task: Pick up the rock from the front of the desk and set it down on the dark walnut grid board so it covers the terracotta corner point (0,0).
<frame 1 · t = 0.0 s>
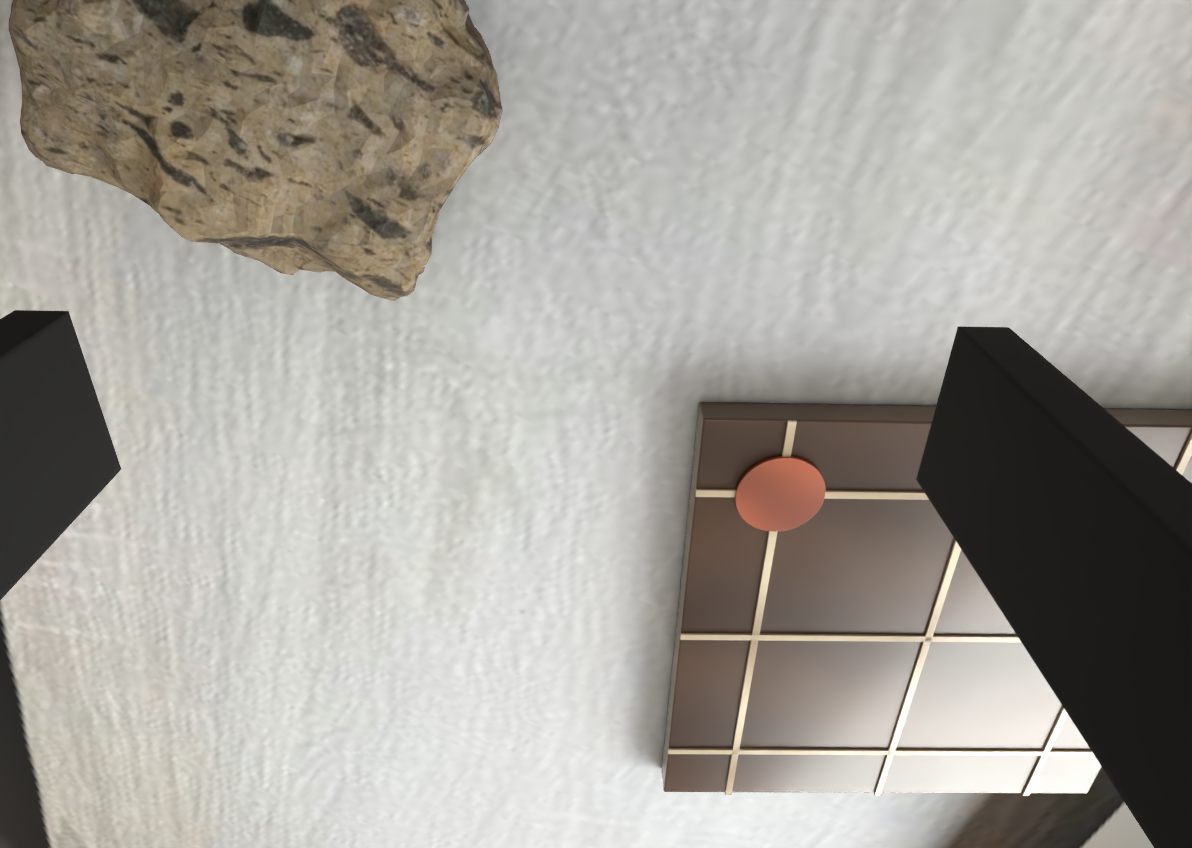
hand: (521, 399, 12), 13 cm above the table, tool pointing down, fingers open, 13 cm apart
rock: (304, 45, 22), on the table
grid board: (916, 616, 33), on the table
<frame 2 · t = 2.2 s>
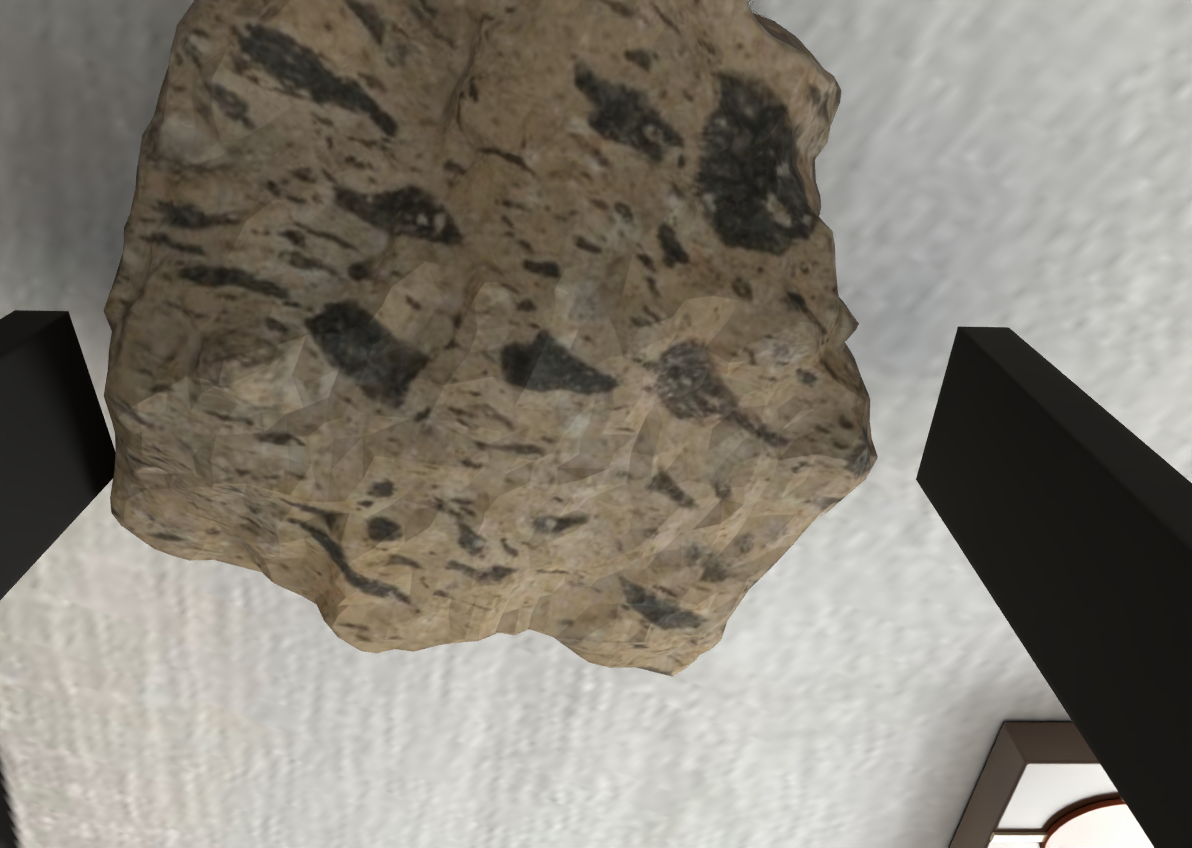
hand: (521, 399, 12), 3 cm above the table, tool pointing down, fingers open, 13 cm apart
rock: (525, 311, 14), on the table
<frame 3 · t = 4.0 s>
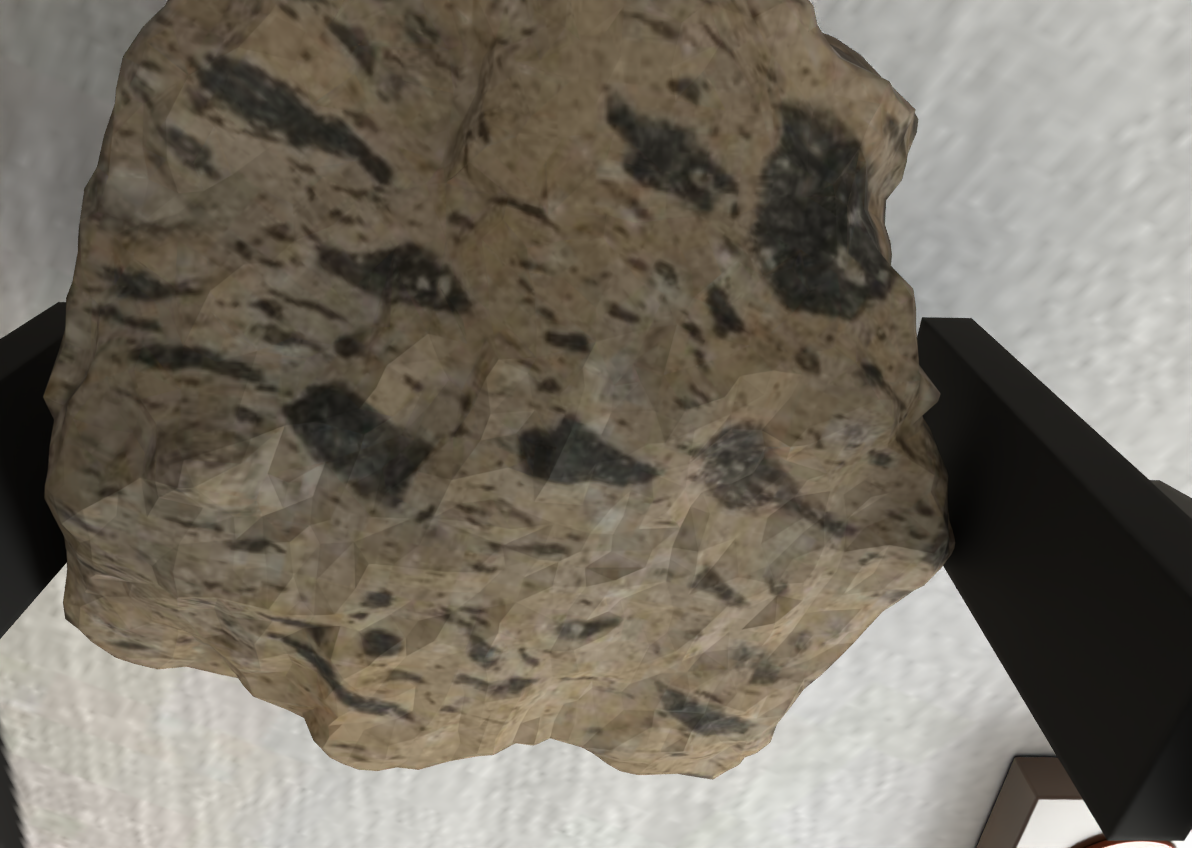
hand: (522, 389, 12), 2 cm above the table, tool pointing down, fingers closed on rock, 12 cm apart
rock: (542, 367, 13), point 2 cm above the table, touching gripper
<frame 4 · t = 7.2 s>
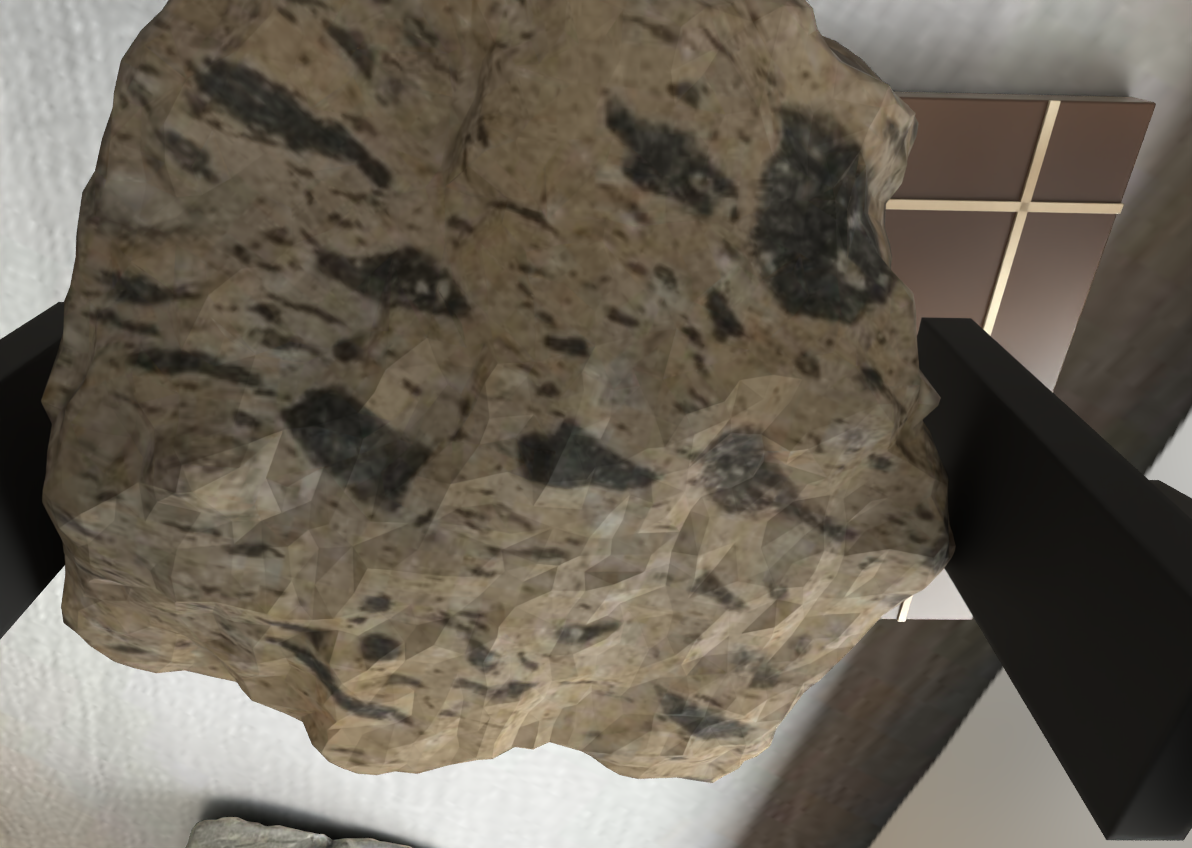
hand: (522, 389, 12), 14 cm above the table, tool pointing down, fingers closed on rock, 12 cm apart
rock: (542, 369, 13), point 14 cm above the table, touching gripper
grid board: (756, 388, 28), on the table
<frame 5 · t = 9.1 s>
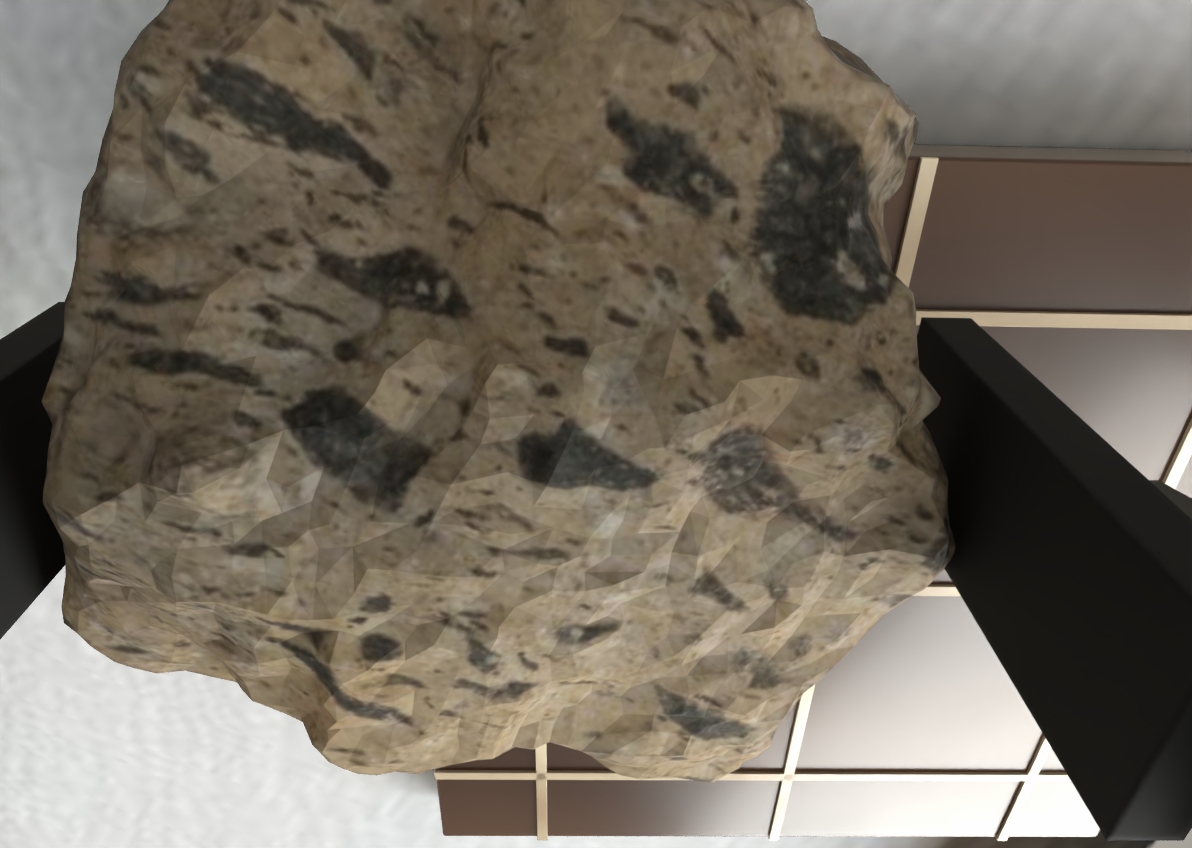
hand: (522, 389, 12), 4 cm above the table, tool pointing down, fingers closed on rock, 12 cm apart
rock: (542, 370, 13), point 4 cm above the table, touching gripper
grid board: (817, 555, 20), on the table
when the fingers open (2 cm above the table, at t = 10.5 s): rock stays where it is, resting on grid board.
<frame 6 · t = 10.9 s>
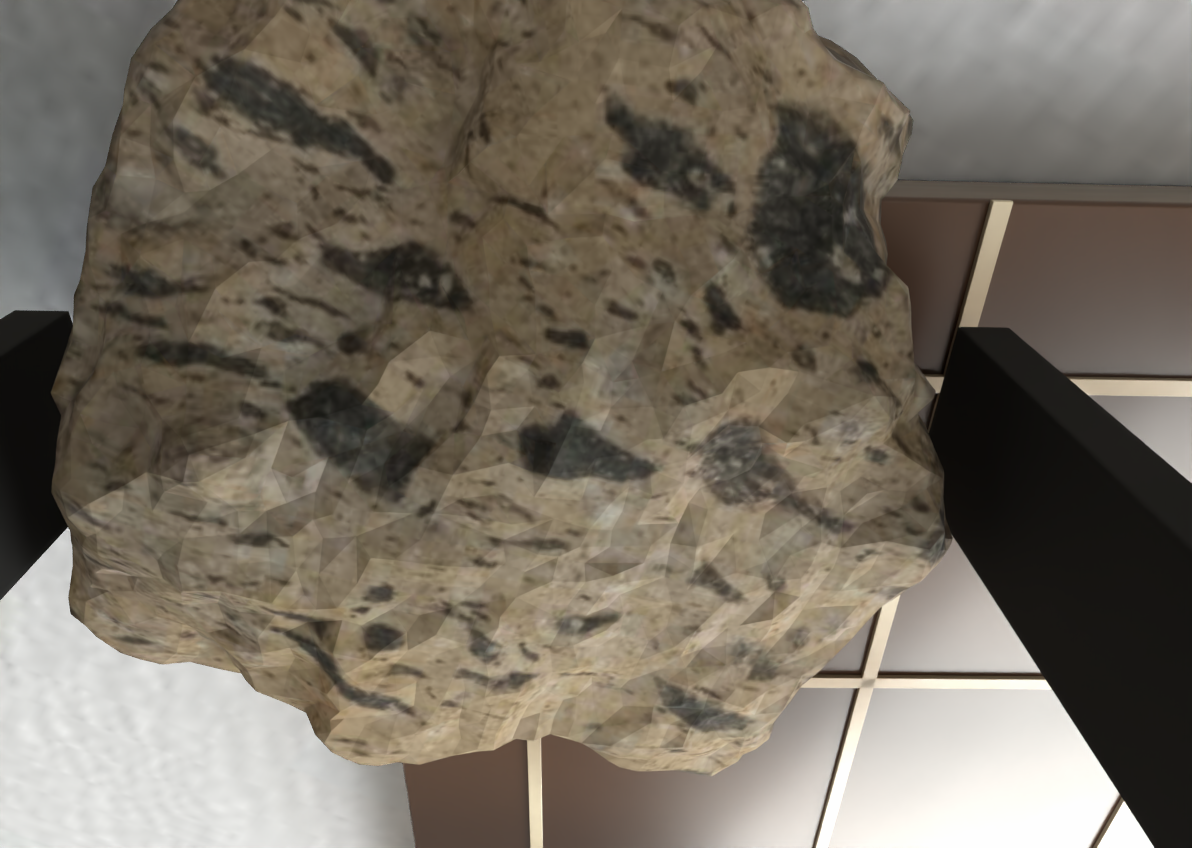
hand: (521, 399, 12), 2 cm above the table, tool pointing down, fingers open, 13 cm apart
rock: (543, 366, 13), point 1 cm above the table, touching grid board
grid board: (849, 637, 18), on the table
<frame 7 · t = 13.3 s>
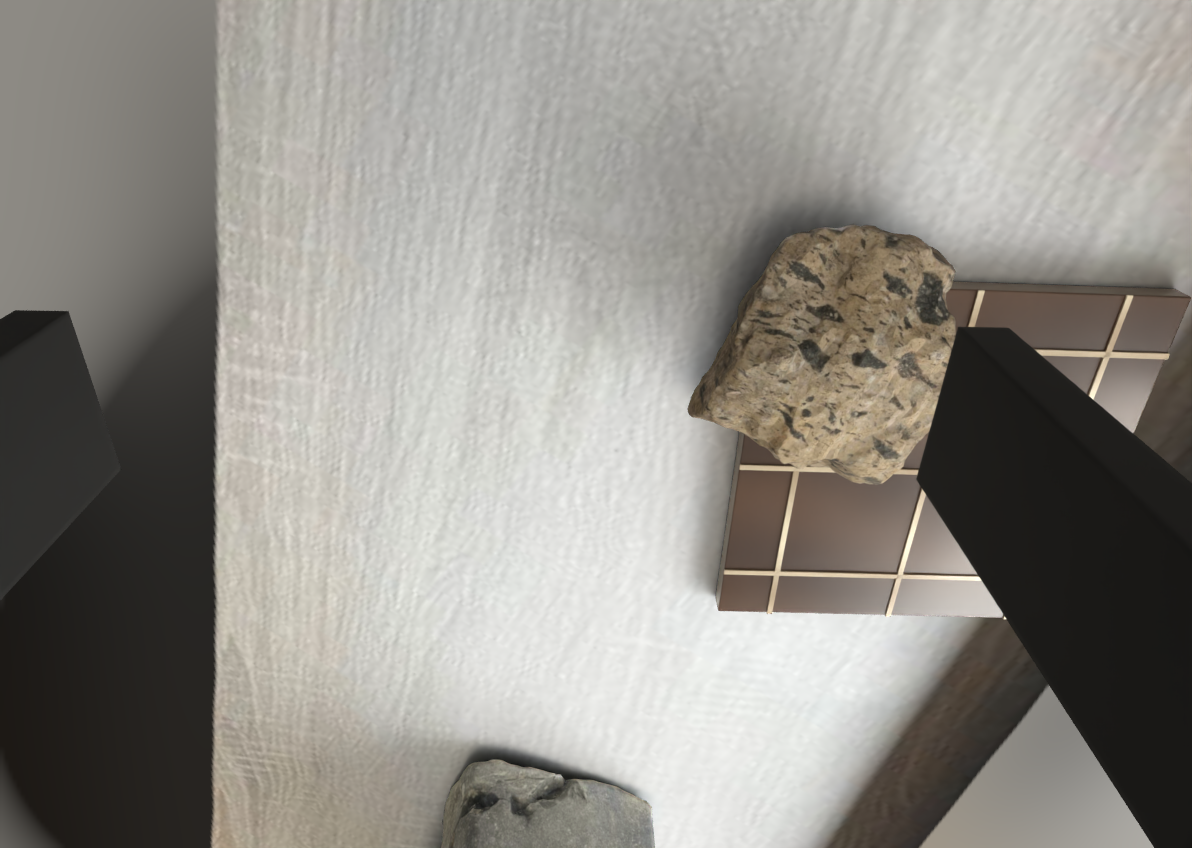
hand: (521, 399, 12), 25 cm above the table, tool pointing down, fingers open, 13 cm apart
rock: (826, 341, 38), point 1 cm above the table, touching grid board
grey broken concrete chunk: (532, 838, 59), on the table
grid board: (920, 459, 42), on the table
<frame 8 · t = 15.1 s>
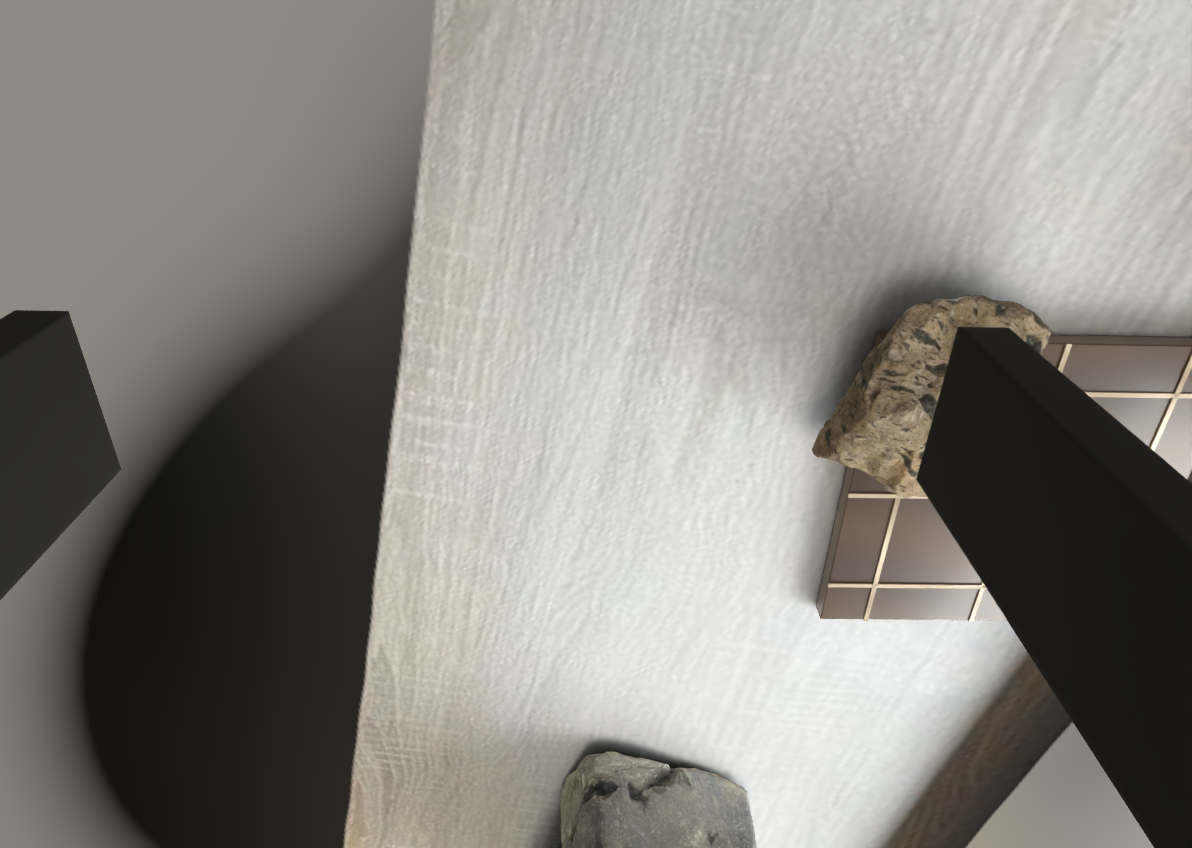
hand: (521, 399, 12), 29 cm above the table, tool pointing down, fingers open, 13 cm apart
rock: (931, 388, 43), point 1 cm above the table, touching grid board
grey broken concrete chunk: (634, 821, 65), on the table
grid board: (1004, 485, 48), on the table
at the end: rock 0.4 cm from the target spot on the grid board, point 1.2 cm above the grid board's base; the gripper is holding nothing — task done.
